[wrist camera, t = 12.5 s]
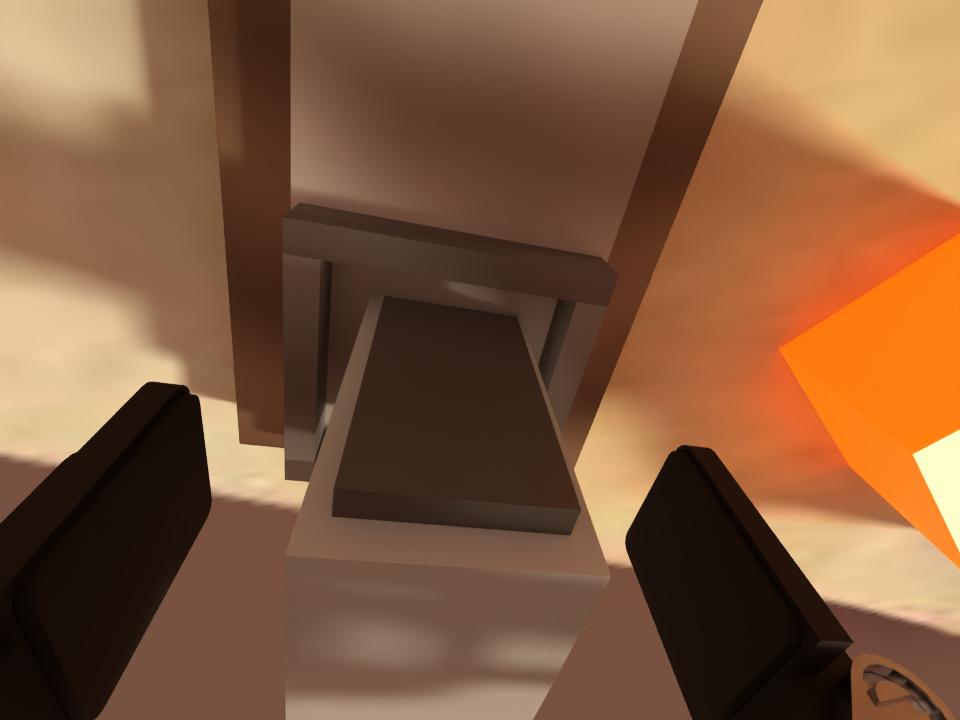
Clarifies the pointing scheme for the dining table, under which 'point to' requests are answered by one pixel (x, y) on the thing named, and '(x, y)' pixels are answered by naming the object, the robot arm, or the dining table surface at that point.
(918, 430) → the orange juice
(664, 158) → the rail board
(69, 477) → the robot arm
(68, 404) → the dining table surface
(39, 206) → the dining table surface
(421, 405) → the white block dark cap
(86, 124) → the dining table surface
